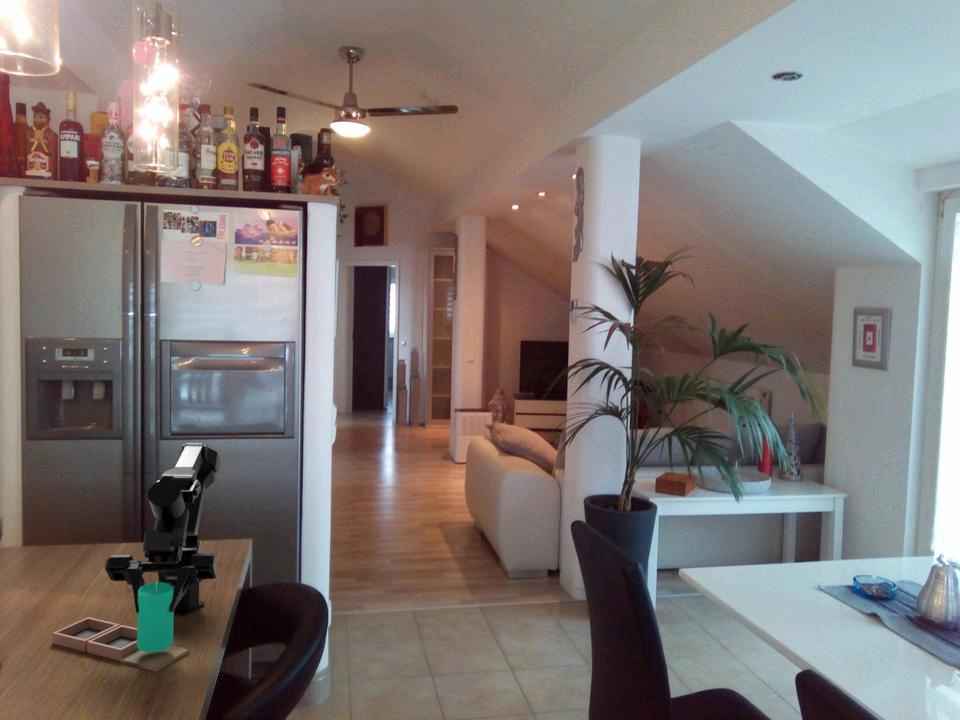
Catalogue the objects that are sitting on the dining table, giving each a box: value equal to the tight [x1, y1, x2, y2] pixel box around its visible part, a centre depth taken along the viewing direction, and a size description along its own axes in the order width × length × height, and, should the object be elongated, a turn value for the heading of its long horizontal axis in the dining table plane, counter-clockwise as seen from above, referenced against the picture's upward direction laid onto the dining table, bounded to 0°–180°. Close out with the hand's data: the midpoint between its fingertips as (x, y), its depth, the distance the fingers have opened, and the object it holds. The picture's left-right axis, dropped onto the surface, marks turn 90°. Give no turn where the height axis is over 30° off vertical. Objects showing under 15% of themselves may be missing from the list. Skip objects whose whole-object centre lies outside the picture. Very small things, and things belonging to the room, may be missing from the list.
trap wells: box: [51, 616, 139, 662], centre depth 139 cm, size 16×8×2 cm, turn 70°
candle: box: [136, 579, 175, 652], centre depth 134 cm, size 6×6×12 cm
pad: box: [120, 645, 190, 673], centre depth 134 cm, size 8×8×1 cm
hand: (154, 612), depth 133 cm, fingers closed on candle, 5 cm apart
